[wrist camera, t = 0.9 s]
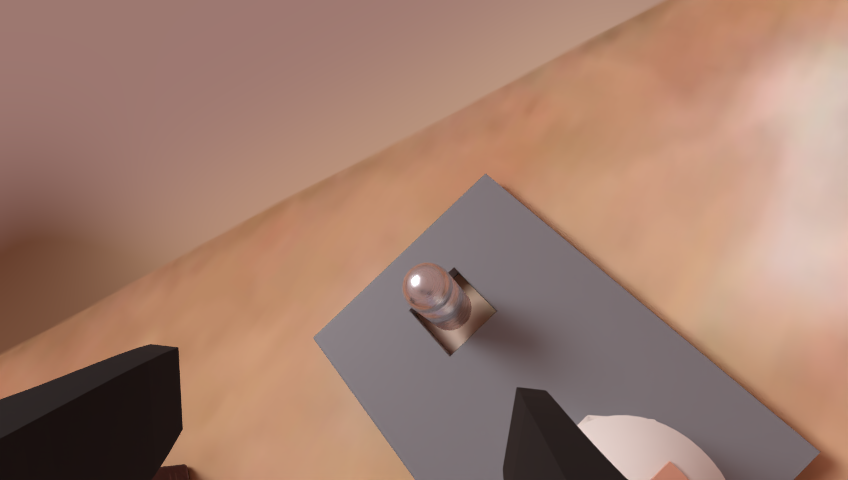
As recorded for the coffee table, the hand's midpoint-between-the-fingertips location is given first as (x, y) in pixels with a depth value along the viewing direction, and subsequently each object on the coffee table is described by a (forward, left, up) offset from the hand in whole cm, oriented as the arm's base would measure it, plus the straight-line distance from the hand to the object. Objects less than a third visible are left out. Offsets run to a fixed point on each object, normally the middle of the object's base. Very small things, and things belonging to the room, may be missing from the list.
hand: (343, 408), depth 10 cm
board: (-1, -3, -13) cm, 13 cm away
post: (+4, -3, -11) cm, 12 cm away
